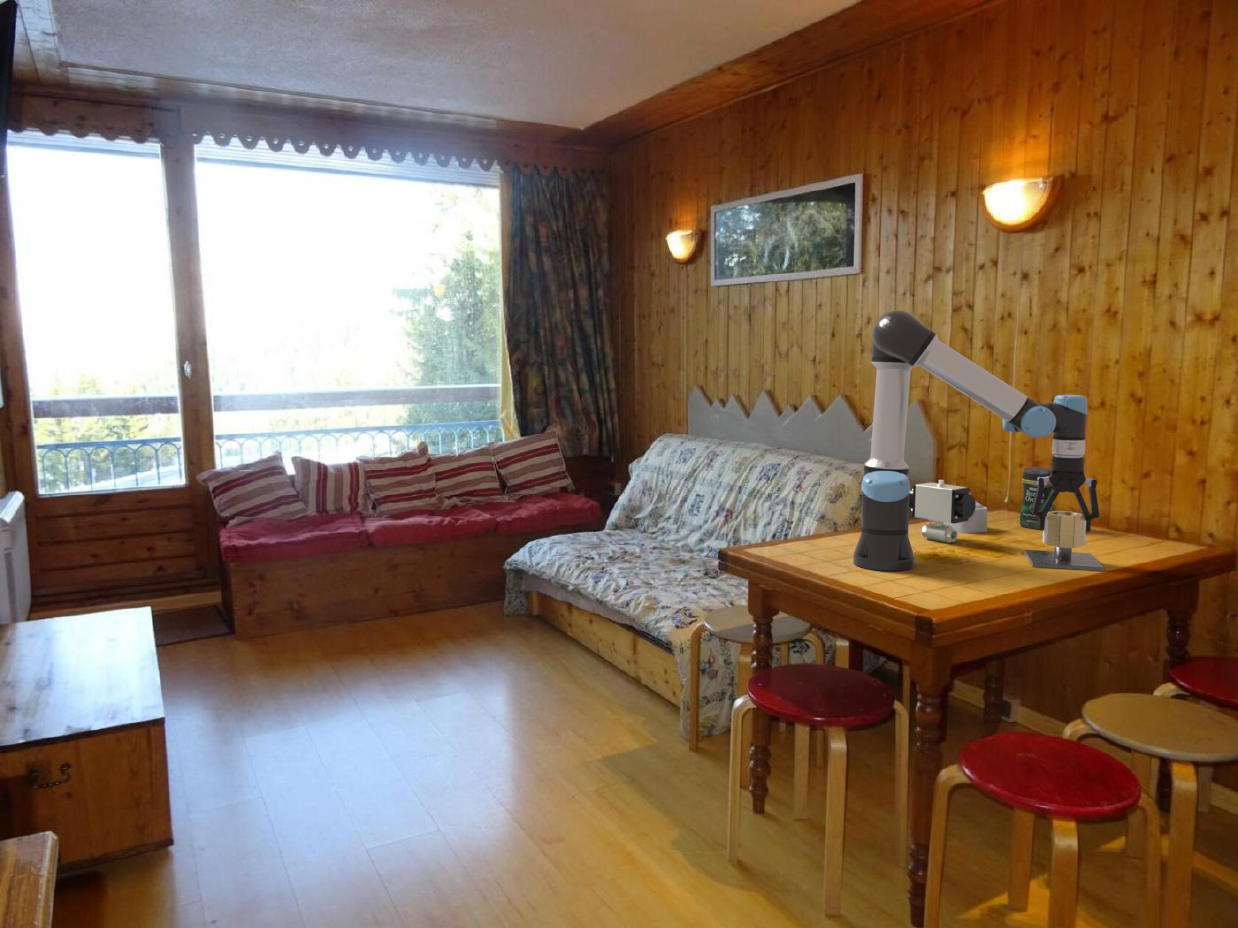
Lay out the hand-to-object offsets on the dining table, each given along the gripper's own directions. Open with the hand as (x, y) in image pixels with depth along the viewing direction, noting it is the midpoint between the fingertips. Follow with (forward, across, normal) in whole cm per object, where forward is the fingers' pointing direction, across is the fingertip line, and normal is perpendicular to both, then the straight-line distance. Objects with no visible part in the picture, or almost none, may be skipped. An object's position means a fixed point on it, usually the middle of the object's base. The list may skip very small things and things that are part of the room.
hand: (1063, 543), depth 228 cm
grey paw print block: (+5, -22, +39) cm, 45 cm away
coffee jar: (+5, 0, +47) cm, 47 cm away
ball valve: (+5, -29, +19) cm, 35 cm away
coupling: (0, 0, 0) cm, 0 cm away
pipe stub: (+5, 0, 0) cm, 5 cm away
